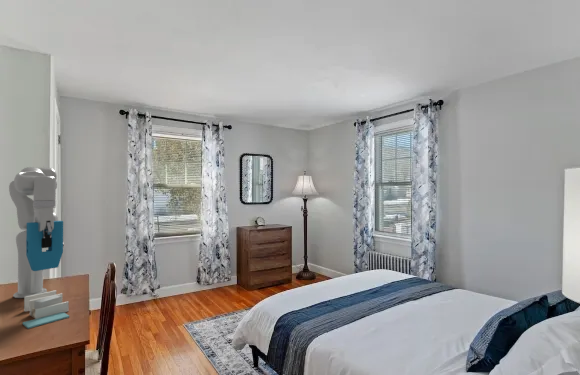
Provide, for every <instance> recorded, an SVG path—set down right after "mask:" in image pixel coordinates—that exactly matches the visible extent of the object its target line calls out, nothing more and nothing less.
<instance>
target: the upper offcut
mask: <svg viewBox="0 0 580 375" xmlns="http://www.w3.org/2000/svg"><path fill="white" fill-rule="evenodd" d="M62 302H63V295H62V296H57V294H56V295H54V296H51V297H47V298H44V299H41V300H37V301H35V307H34V309H38V308H43V307H47V306H51V305H55V304H59V303H62Z"/></svg>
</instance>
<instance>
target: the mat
mask: <svg viewBox="0 0 580 375" xmlns="http://www.w3.org/2000/svg"><path fill="white" fill-rule="evenodd" d="M69 318H70V315H69V314H67V312H61V313H57V314H53V315H49V316H45V317H41V318H38V319H35V318H34V319H31V320H30V319H29V320H26V321H22V325H23V326H24V327H25V328H26V329H32V328H35V327H39V326H42V325H46V324H51V323H55V322H58V321H61V320H65V319H69Z"/></svg>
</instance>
